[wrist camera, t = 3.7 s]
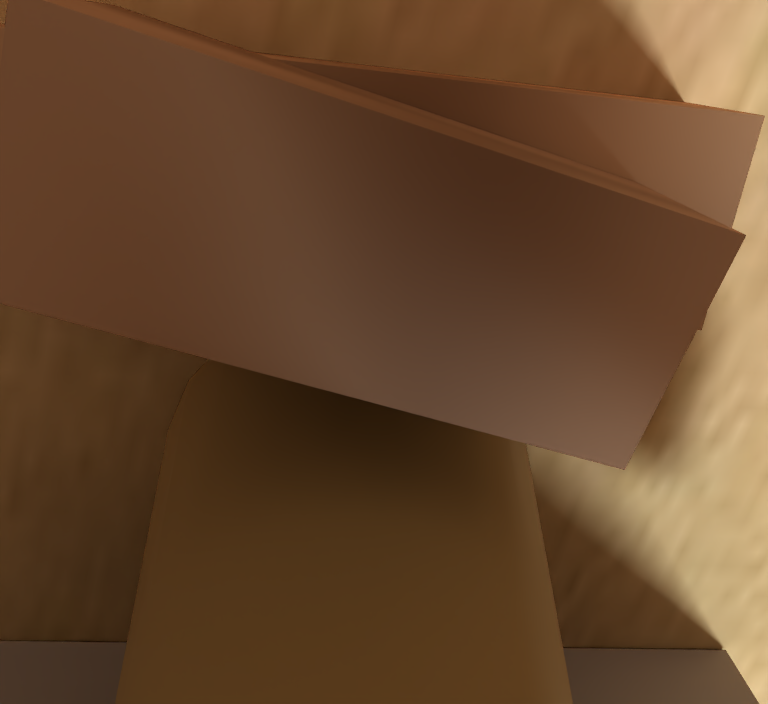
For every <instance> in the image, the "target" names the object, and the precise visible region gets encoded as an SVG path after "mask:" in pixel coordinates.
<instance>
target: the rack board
mask: <svg viewBox="0 0 768 704" xmlns="http://www.w3.org/2000/svg"><path fill="white" fill-rule="evenodd" d="M126 644H127V642H48V641H0V704H115V701H116V695H117V690H118V685H119V680H120V675H121V670H122V665H123V659H124V654H125V649H126ZM563 651H564V656H565V662H566V667H567V673H568V678H569V684H570V690H571V695H572V701H573V704H759V703H758V701H757V700H756V698H755V696H754V695H753V693H752V692H751V690H750V688H749V687H748V685H747V684H746V682H745V680H744V679H743V677H742V676H741V674H740V672H739V671H738V669H737V667H736V666H735V664H734V663H733V661H732V659H731V658H730V656H729V655H728V653H727V651H726V650H682V649H602V648H563Z"/></svg>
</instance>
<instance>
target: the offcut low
mask: <svg viewBox="0 0 768 704" xmlns="http://www.w3.org/2000/svg"><path fill="white" fill-rule="evenodd" d="M4 31H5V24H0V65H1V57H2V48H3V39H4ZM254 53H257V52H254ZM257 54H260V55H263V56H266V57H268V58H271V59H274V60H277V61H280V62H283V63H286V64H289V65H292V66H295V67H298V68H301V69H304V70H307V71H310V72H313V73H316V74H319V75H322V76H325V77H328V78H330V79H333V80H336V81H339V82H342V83H345V84H348V85H351V86H354V87H357V88H360V89H363V90H366V91H369V92H372V93H375V94H378V95H381V96H384V97H387V98H390V99H392V100H395V101H398V102H401V103H404V104H407V105H410V106H413V107H416V108H419V109H422V110H425V111H428V112H431V113H434V114H437V115H440V116H443V117H446V118H449V119H452V120H454V121H457V122H460V123H463V124H466V125H469V126H472V127H475V128H478V129H481V130H484V131H487V132H490V133H493V134H496V135H499V136H502V137H505V138H508V139H511V140H513V141H516V142H519V143H522V144H525V145H528V146H531V147H534V148H537V149H540V150H543V151H546V152H549V153H552V154H555V155H558V156H561V157H564V158H567V159H570V160H573V161H575V162H578V163H581V164H584V165H587V166H590V167H593V168H596V169H599V170H602V171H605V172H608V173H611V174H614V175H617V176H620V177H623V178H626V179H629V180H632V181H635V182H637V183H639V184H642V185H644V186H646V187H648V188H650V189H652V190H654V191H656V192H658V193H660V194H662V195H664V196H666V197H668V198H670V199H672V200H674V201H676V202H679V203H681V204H683V205H685V206H687V207H689V208H691V209H693V210H695V211H697V212H699V213H701V214H703V215H705V216H707V217H709V218H711V219H714V220H716V221H718V222H720V223H722V224H724V225H726V226H728V227H730V228H732V225H733V222H734V218H735V215H736V212H737V208H738V205H739V202H740V198H741V195H742V191H743V188H744V185H745V181H746V178H747V174H748V171H749V168H750V164H751V161H752V157H753V154H754V151H755V147H756V144H757V140H758V137H759V134H760V130H761V127H762V124H763V120H764V117H765V116H763V115H757V114H751V113H745V112H739V111H734V110H728V109H722V108H716V107H710V106H704V105H698V104H692V103H686V102H679V101H670V100H661V99H653V98H644V97H636V96H627V95H618V94H610V93H601V92H593V91H584V90H575V89H567V88H558V87H550V86H541V85H532V84H524V83H515V82H507V81H498V80H489V79H481V78H472V77H463V76H455V75H446V74H438V73H429V72H420V71H412V70H403V69H395V68H386V67H377V66H369V65H360V64H352V63H343V62H334V61H326V60H317V59H309V58H300V57H291V56H283V55H274V54H266V53H257ZM706 313H707V312H706ZM705 317H706V314H705V316H704V318H703V320H702V322H701V323H700V325H699V327H698V329H697V330H702V327H703V324H704V320H705Z"/></svg>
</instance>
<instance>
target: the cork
mask: <svg viewBox="0 0 768 704" xmlns="http://www.w3.org/2000/svg"><path fill="white" fill-rule="evenodd" d="M115 704H573V701H572V695H571V690H570V684H569V678H568V673H567V667H566V662H565V656H564V651H563V645H562V640H561V634H560V629H559V623H558V618H557V612H556V607H555V601H554V596H553V590H552V585H551V579H550V574H549V568H548V563H547V557H546V552H545V546H544V541H543V535H542V530H541V524H540V519H539V513H538V508H537V502H536V497H535V491H534V486H533V480H532V475H531V469H530V464H529V458H528V453H527V447H526V443H522V442H518V441H514V440H511V439H507V438H503V437H499V436H496V435H492V434H488V433H484V432H481V431H477V430H473V429H469V428H465V427H462V426H458V425H454V424H450V423H447V422H443V421H439V420H435V419H432V418H428V417H424V416H420V415H417V414H413V413H409V412H405V411H402V410H398V409H394V408H390V407H387V406H383V405H379V404H375V403H372V402H368V401H364V400H360V399H357V398H353V397H349V396H345V395H342V394H338V393H334V392H330V391H327V390H323V389H319V388H315V387H312V386H308V385H304V384H300V383H297V382H293V381H289V380H285V379H282V378H278V377H274V376H270V375H266V374H263V373H259V372H255V371H251V370H248V369H244V368H240V367H236V366H233V365H229V364H225V363H221V362H218V361H214V360H210V359H208V360H207V361H206V363H205V364H204V365H203V366H202V367H201V368H200V369H199V370H198V371H197V372H196V373H195V374H194V375H193V376H192V377H191V378H190V379H189V381H188V383H187V386H186V388H185V390H184V393H183V395H182V397H181V400H180V402H179V404H178V407H177V409H176V411H175V414H174V416H173V418H172V421H171V423H170V425H169V428H168V433H167V438H166V443H165V448H164V453H163V458H162V463H161V469H160V474H159V479H158V484H157V489H156V494H155V500H154V505H153V510H152V515H151V520H150V525H149V530H148V536H147V541H146V546H145V551H144V556H143V561H142V567H141V572H140V577H139V582H138V587H137V592H136V598H135V603H134V608H133V613H132V618H131V623H130V628H129V634H128V639H127V644H126V649H125V654H124V659H123V665H122V670H121V675H120V680H119V685H118V690H117V695H116V701H115Z"/></svg>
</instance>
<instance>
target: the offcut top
mask: <svg viewBox="0 0 768 704" xmlns="http://www.w3.org/2000/svg"><path fill="white" fill-rule="evenodd" d="M745 236H746V235H744V234H742V233H740V232H738V231H736V230H734V229H732V228H730V227H728V226H726V225H724V224H722V223H720V222H718V221H716V220H714V219H711V218H709V217H707V216H705V215H703V214H701V213H699V212H697V211H695V210H693V209H691V208H689V207H687V206H685V205H683V204H681V203H679V202H676V201H674V200H672V199H670V198H668V197H666V196H664V195H662V194H660V193H658V192H656V191H654V190H652V189H650V188H648V187H646V186H644V185H642V184H639V183H637V182H635V181H632V180H629V179H626V178H623V177H620V176H617V175H614V174H611V173H608V172H605V171H602V170H599V169H596V168H593V167H590V166H587V165H584V164H581V163H578V162H575V161H573V160H570V159H567V158H564V157H561V156H558V155H555V154H552V153H549V152H546V151H543V150H540V149H537V148H534V147H531V146H528V145H525V144H522V143H519V142H516V141H513V140H511V139H508V138H505V137H502V136H499V135H496V134H493V133H490V132H487V131H484V130H481V129H478V128H475V127H472V126H469V125H466V124H463V123H460V122H457V121H454V120H452V119H449V118H446V117H443V116H440V115H437V114H434V113H431V112H428V111H425V110H422V109H419V108H416V107H413V106H410V105H407V104H404V103H401V102H398V101H395V100H392V99H390V98H387V97H384V96H381V95H378V94H375V93H372V92H369V91H366V90H363V89H360V88H357V87H354V86H351V85H348V84H345V83H342V82H339V81H336V80H333V79H330V78H328V77H325V76H322V75H319V74H316V73H313V72H310V71H307V70H304V69H301V68H298V67H295V66H292V65H289V64H286V63H283V62H280V61H277V60H274V59H271V58H268V57H266V56H263V55H260V54H257V53H254V52H251V51H248V50H245V49H242V48H239V47H236V46H233V45H230V44H227V43H224V42H221V41H218V40H215V39H212V38H209V37H206V36H204V35H201V34H198V33H195V32H192V31H189V30H186V29H183V28H180V27H177V26H174V25H171V24H168V23H165V22H162V21H159V20H156V19H153V18H150V17H147V16H145V15H142V14H139V13H136V12H133V11H130V10H127V9H124V8H121V7H118V6H115V5H111V4H104V3H98V2H92V1H85V0H8V5H7V13H6V22H5V31H4V39H3V48H2V57H1V65H0V304H4V305H7V306H11V307H15V308H19V309H22V310H26V311H30V312H34V313H37V314H41V315H45V316H49V317H52V318H56V319H60V320H64V321H67V322H71V323H75V324H79V325H83V326H86V327H90V328H94V329H98V330H101V331H105V332H109V333H113V334H116V335H120V336H124V337H128V338H131V339H135V340H139V341H143V342H146V343H150V344H154V345H158V346H161V347H165V348H169V349H173V350H176V351H180V352H184V353H188V354H191V355H195V356H199V357H203V358H206V359H210V360H214V361H218V362H221V363H225V364H229V365H233V366H236V367H240V368H244V369H248V370H251V371H255V372H259V373H263V374H266V375H270V376H274V377H278V378H282V379H285V380H289V381H293V382H297V383H300V384H304V385H308V386H312V387H315V388H319V389H323V390H327V391H330V392H334V393H338V394H342V395H345V396H349V397H353V398H357V399H360V400H364V401H368V402H372V403H375V404H379V405H383V406H387V407H390V408H394V409H398V410H402V411H405V412H409V413H413V414H417V415H420V416H424V417H428V418H432V419H435V420H439V421H443V422H447V423H450V424H454V425H458V426H462V427H465V428H469V429H473V430H477V431H481V432H484V433H488V434H492V435H496V436H499V437H503V438H507V439H511V440H514V441H518V442H522V443H526V444H529V445H533V446H537V447H541V448H544V449H548V450H552V451H556V452H559V453H563V454H567V455H571V456H574V457H578V458H582V459H586V460H589V461H593V462H597V463H601V464H604V465H608V466H612V467H616V468H619V469H623V470H625V468H626V466H627V464H628V463H629V461H630V459H631V457H632V455H633V453H634V451H635V449H636V447H637V445H638V443H639V441H640V439H641V437H642V435H643V434H644V432H645V430H646V428H647V426H648V424H649V422H650V420H651V418H652V416H653V414H654V412H655V410H656V408H657V407H658V405H659V403H660V401H661V399H662V397H663V395H664V393H665V391H666V389H667V387H668V385H669V383H670V381H671V379H672V378H673V376H674V374H675V372H676V370H677V368H678V366H679V364H680V362H681V360H682V358H683V356H684V354H685V352H686V350H687V349H688V347H689V345H690V343H691V341H692V339H693V337H694V335H695V333H696V331H697V329H698V327H699V325H700V323H701V322H702V320H703V318H704V316H705V314H706V312H707V310H708V308H709V306H710V304H711V302H712V300H713V298H714V296H715V294H716V293H717V291H718V289H719V287H720V285H721V283H722V281H723V279H724V277H725V275H726V273H727V271H728V269H729V267H730V265H731V264H732V262H733V260H734V258H735V256H736V254H737V252H738V250H739V248H740V246H741V244H742V242H743V240H744V238H745Z"/></svg>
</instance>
